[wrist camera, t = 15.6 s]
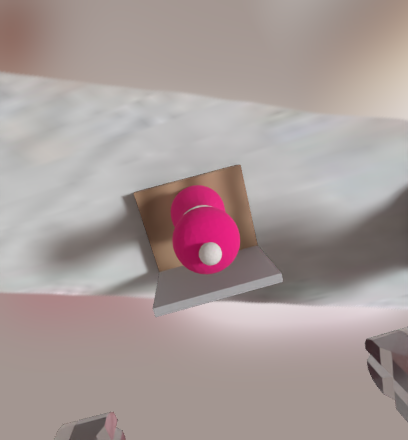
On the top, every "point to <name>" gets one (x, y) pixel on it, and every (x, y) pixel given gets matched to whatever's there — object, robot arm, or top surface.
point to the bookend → (186, 279)
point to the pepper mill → (203, 231)
